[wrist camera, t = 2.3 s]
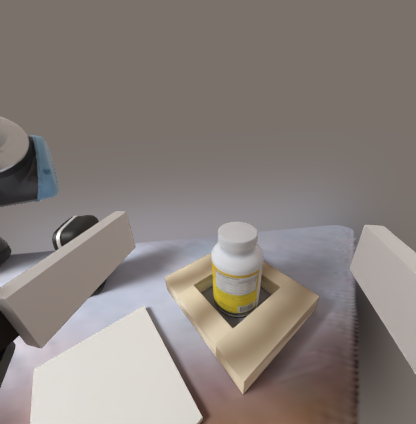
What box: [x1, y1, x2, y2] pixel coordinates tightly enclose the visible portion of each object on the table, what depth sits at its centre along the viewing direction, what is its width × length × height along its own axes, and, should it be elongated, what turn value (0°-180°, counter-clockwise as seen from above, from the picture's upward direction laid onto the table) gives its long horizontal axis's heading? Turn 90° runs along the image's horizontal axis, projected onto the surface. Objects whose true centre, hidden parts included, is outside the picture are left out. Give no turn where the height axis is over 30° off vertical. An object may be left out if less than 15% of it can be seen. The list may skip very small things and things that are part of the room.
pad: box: [30, 306, 203, 424], centre depth 18 cm, size 14×12×1 cm
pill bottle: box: [211, 222, 263, 317], centre depth 25 cm, size 6×6×12 cm
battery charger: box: [52, 215, 107, 295], centre depth 29 cm, size 7×4×11 cm, turn 8°
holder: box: [165, 253, 320, 394], centre depth 27 cm, size 16×14×2 cm
